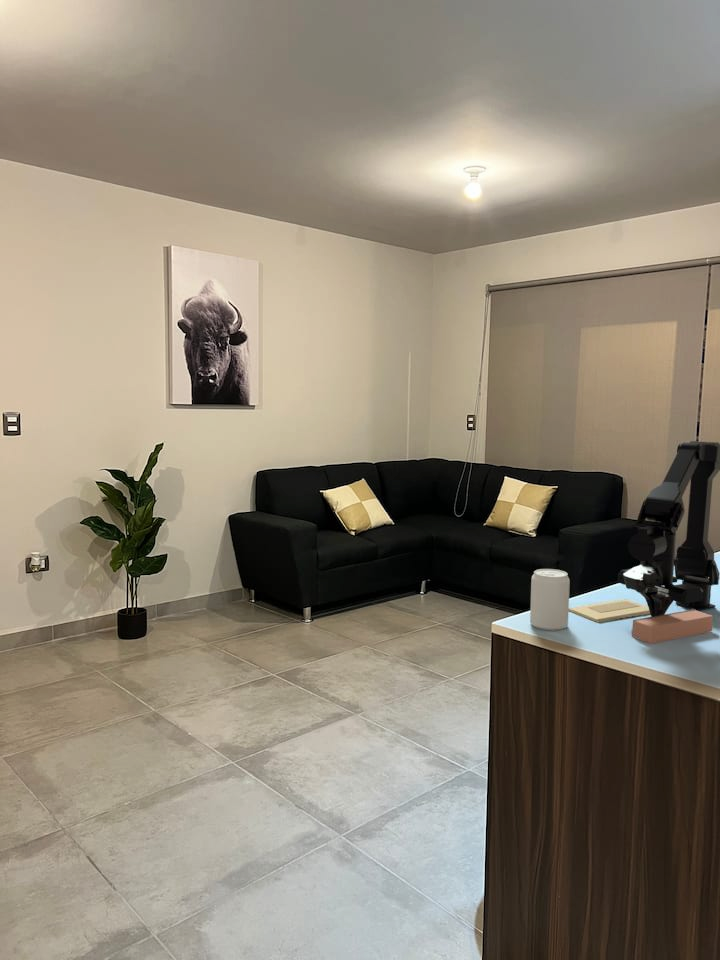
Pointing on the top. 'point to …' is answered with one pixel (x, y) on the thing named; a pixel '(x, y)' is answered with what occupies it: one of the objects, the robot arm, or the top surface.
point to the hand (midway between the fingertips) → (656, 623)
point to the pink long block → (672, 626)
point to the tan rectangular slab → (610, 610)
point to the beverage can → (549, 599)
